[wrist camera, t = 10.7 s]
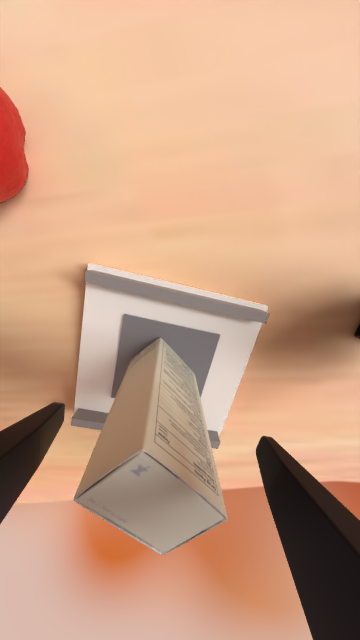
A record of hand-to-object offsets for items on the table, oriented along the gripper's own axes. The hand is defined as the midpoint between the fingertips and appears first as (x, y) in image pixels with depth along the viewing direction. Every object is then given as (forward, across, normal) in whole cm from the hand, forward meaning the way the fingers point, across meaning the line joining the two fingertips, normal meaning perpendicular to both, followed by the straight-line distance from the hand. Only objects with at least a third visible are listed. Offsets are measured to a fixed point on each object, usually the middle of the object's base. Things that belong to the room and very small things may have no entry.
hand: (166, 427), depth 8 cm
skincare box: (+11, 0, +4) cm, 12 cm away
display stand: (+13, 0, +4) cm, 13 cm away
